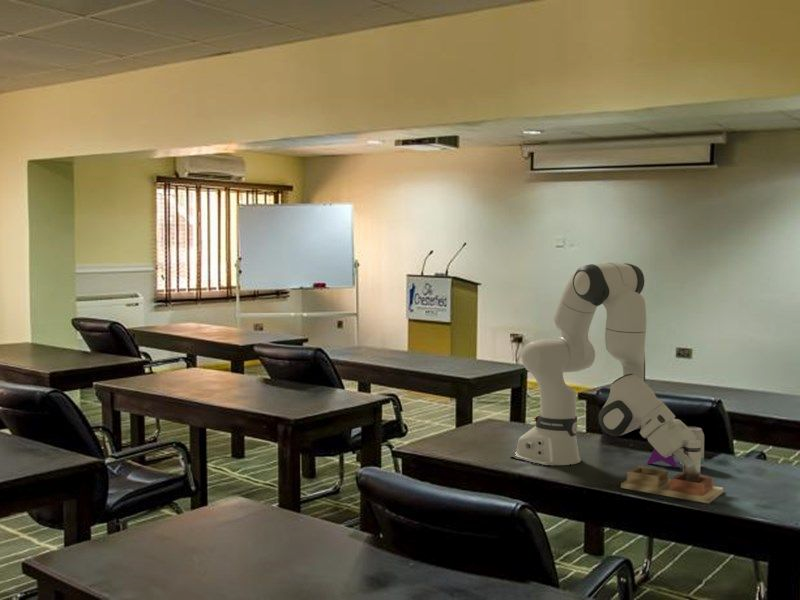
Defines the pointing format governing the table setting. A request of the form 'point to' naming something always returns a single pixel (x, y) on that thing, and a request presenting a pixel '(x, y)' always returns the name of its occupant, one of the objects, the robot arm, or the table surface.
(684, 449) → the white cylinder
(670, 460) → the arrowhead
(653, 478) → the collar board
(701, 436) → the beverage can
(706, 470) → the table surface
